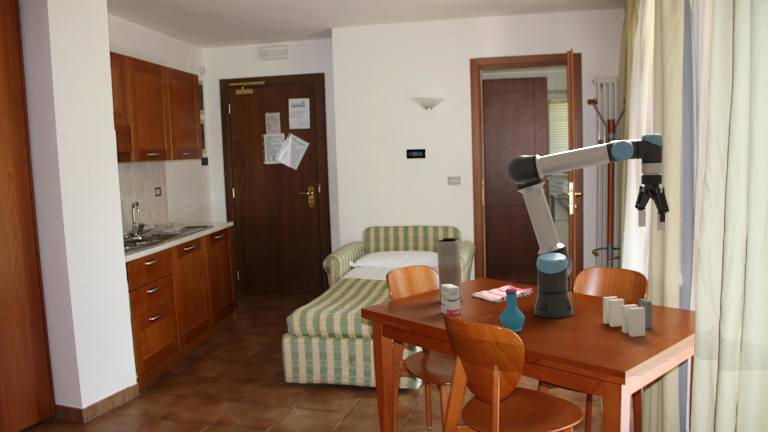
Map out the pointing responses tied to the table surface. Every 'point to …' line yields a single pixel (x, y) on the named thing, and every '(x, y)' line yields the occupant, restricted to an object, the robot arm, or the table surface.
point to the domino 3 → (647, 311)
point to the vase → (449, 263)
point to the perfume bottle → (512, 312)
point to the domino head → (607, 308)
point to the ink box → (450, 299)
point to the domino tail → (637, 321)
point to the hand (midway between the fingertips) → (651, 228)
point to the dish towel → (501, 294)
